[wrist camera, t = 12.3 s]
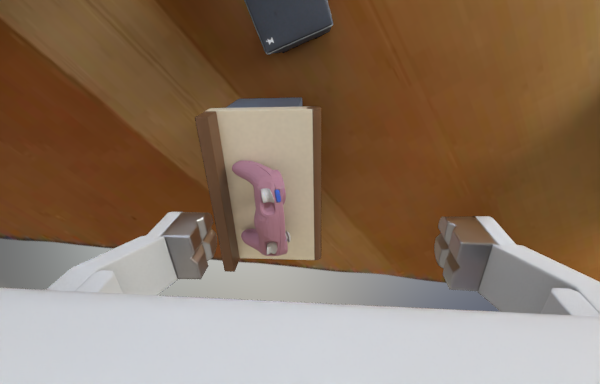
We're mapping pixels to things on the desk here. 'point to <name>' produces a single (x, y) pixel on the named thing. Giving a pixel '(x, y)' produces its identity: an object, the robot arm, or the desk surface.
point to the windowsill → (269, 152)
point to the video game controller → (265, 208)
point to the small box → (289, 22)
